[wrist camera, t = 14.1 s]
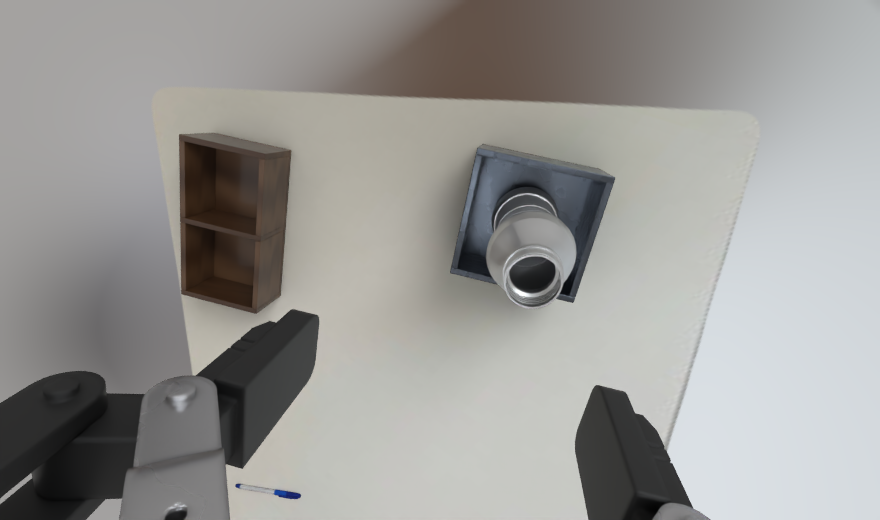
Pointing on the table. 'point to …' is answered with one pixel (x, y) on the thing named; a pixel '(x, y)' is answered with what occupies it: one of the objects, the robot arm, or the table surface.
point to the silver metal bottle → (529, 248)
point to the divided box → (232, 219)
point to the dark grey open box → (564, 182)
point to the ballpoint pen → (270, 491)
